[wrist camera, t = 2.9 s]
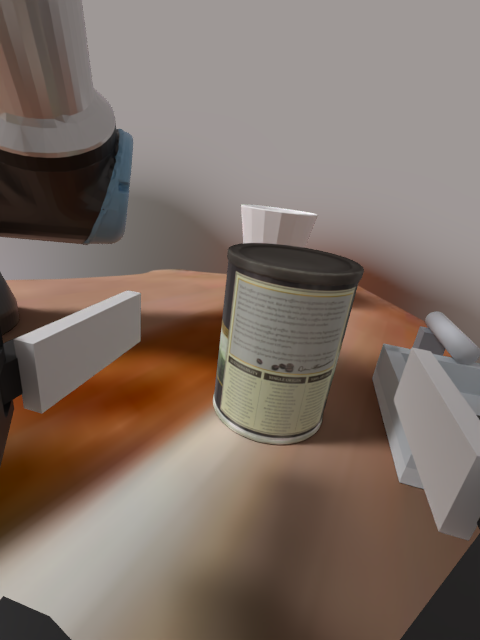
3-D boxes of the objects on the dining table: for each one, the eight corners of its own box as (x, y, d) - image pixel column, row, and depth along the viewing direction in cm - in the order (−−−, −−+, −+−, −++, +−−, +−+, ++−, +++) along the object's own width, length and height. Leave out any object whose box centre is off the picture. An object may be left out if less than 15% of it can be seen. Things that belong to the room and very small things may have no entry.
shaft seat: (645, 550, 21) (718, 471, 18) (399, 482, 23) (432, 404, 21) (481, 371, 42) (504, 323, 40) (363, 346, 45) (377, 300, 42)
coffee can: (194, 385, 31) (206, 240, 26) (279, 368, 36) (303, 244, 31) (247, 462, 23) (279, 274, 18) (346, 427, 28) (395, 272, 23)
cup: (308, 295, 66) (325, 214, 60) (288, 313, 54) (307, 215, 48) (248, 280, 71) (258, 204, 65) (218, 293, 59) (227, 203, 53)
